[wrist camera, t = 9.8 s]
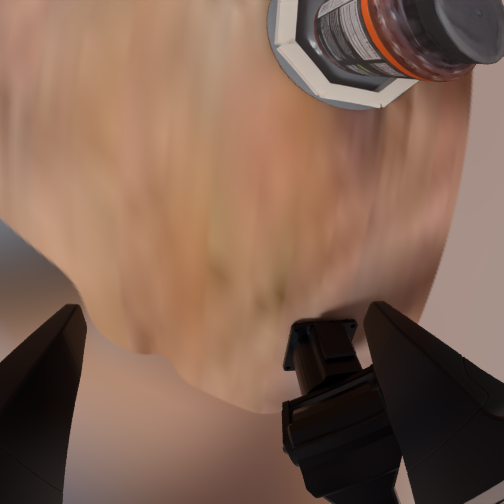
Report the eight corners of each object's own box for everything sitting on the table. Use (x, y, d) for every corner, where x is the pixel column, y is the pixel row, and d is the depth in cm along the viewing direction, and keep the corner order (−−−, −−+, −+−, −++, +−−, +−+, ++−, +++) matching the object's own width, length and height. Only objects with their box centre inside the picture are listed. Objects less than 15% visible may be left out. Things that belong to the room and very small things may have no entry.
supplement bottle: (386, -4, 14) (510, -34, 4) (399, 75, 17) (531, 98, 7) (301, -7, 14) (392, -79, 4) (318, 78, 17) (428, 88, 7)
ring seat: (409, 121, 19) (421, 125, 18) (260, 98, 18) (264, 99, 16) (420, -10, 14) (432, -13, 12) (272, -51, 12) (276, -60, 11)
